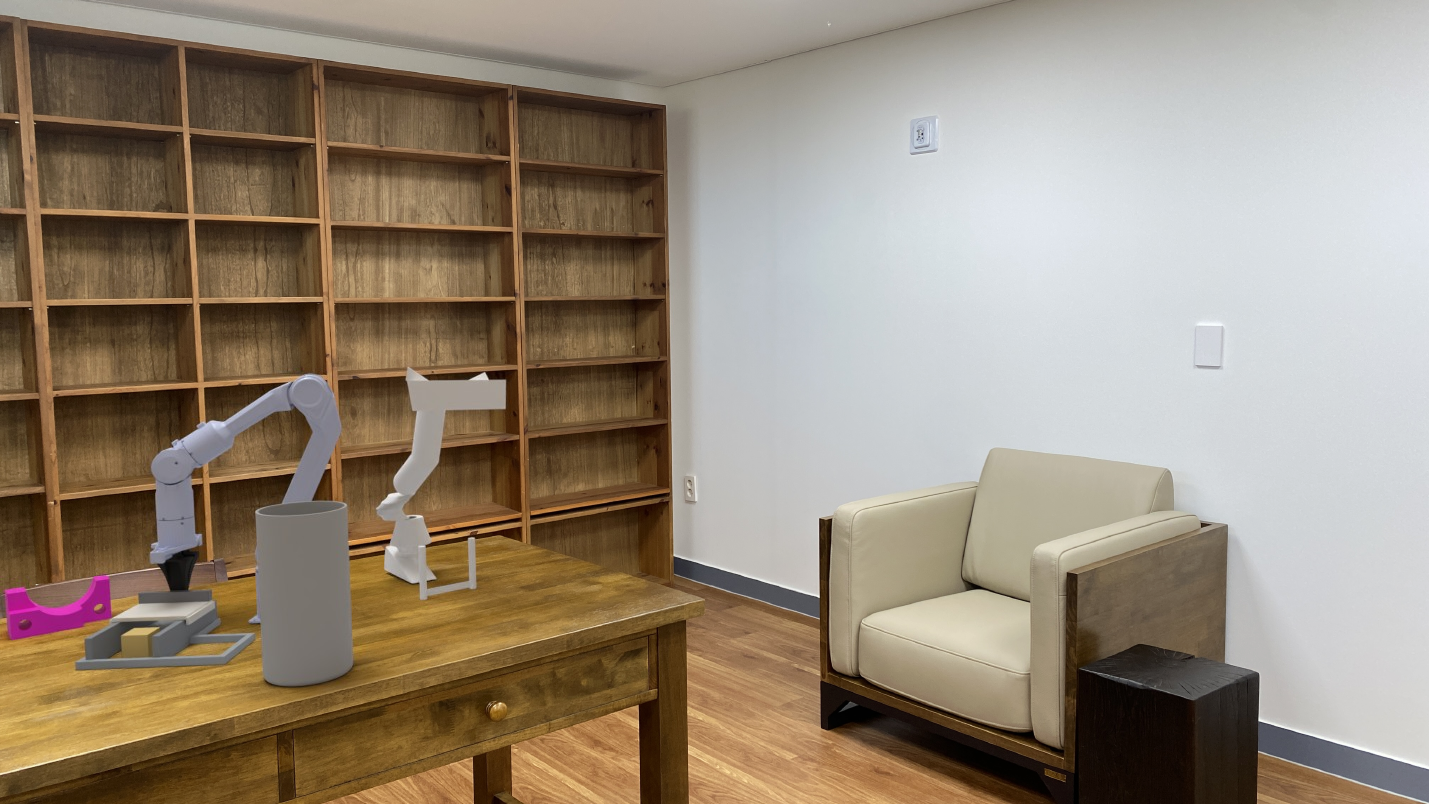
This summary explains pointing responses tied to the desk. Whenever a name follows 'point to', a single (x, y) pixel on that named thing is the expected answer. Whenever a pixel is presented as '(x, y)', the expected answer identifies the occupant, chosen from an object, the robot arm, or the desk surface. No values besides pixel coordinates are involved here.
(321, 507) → the cylinder vase
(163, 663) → the gray square frame
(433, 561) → the desk surface
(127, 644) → the block
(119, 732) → the desk surface
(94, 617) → the toy block
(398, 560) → the desk lamp
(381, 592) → the desk surface
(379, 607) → the desk surface
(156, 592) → the cover
